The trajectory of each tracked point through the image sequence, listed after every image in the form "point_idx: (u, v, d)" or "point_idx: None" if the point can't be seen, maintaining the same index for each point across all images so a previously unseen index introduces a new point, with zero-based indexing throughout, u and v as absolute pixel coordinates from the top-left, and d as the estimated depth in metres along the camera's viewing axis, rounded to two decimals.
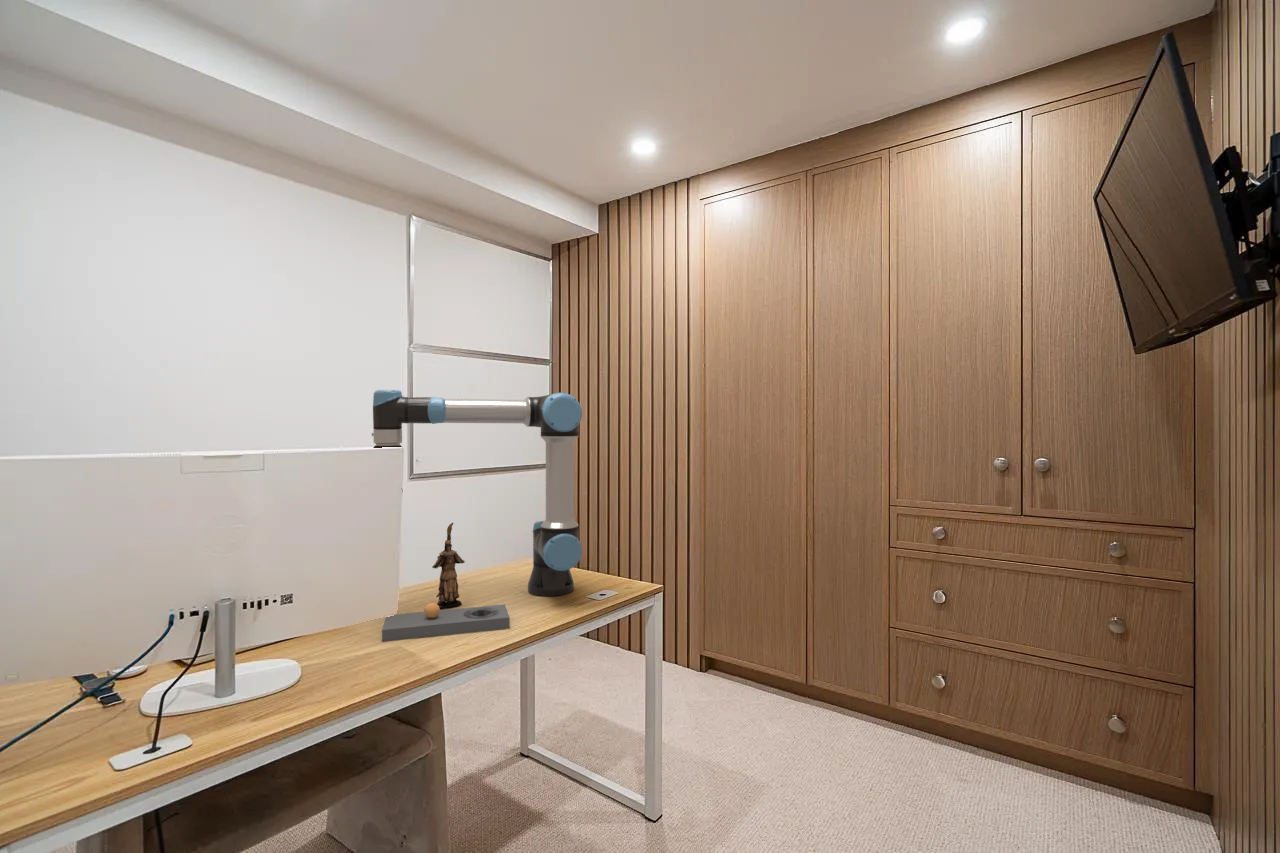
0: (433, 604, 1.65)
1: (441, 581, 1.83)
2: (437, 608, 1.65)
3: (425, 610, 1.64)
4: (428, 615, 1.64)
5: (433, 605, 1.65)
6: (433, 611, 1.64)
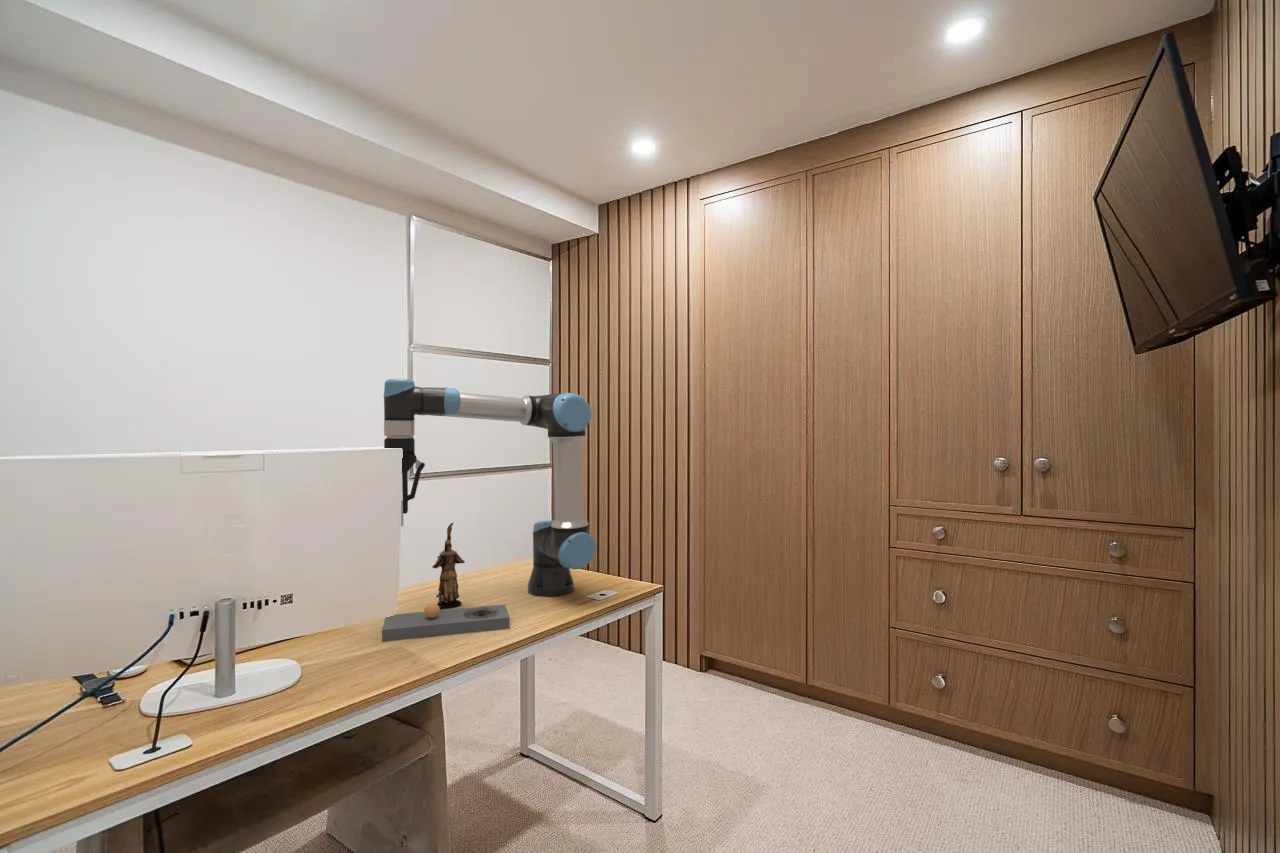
0: (433, 604, 1.65)
1: (441, 581, 1.83)
2: (437, 608, 1.65)
3: (425, 610, 1.64)
4: (428, 615, 1.64)
5: (433, 605, 1.65)
6: (433, 611, 1.64)
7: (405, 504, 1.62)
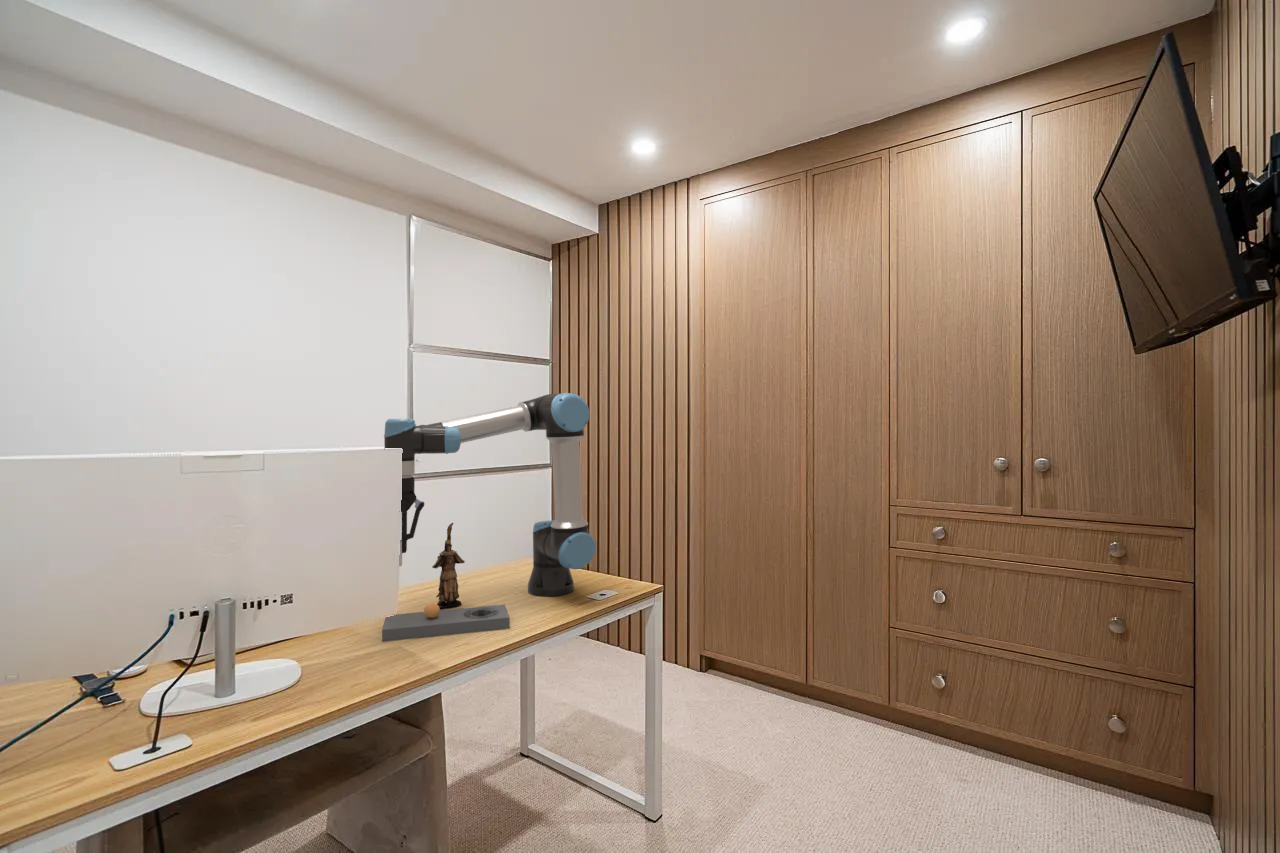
0: (433, 604, 1.65)
1: (441, 581, 1.83)
2: (437, 608, 1.65)
3: (425, 610, 1.64)
4: (428, 615, 1.64)
5: (433, 605, 1.65)
6: (433, 611, 1.64)
7: (404, 543, 1.62)
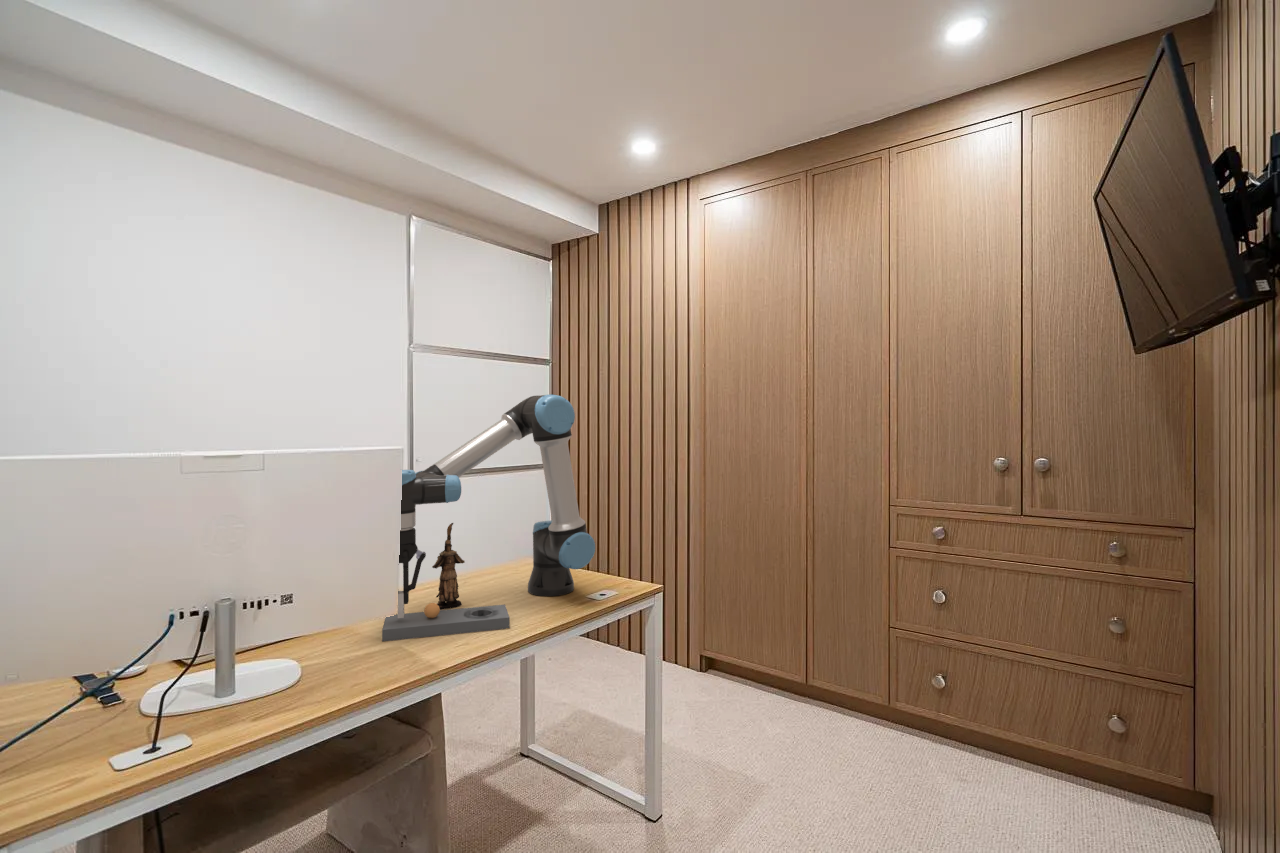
0: (433, 604, 1.65)
1: (441, 581, 1.83)
2: (437, 608, 1.65)
3: (425, 610, 1.64)
4: (428, 615, 1.64)
5: (433, 605, 1.65)
6: (433, 611, 1.64)
7: (406, 595, 1.63)
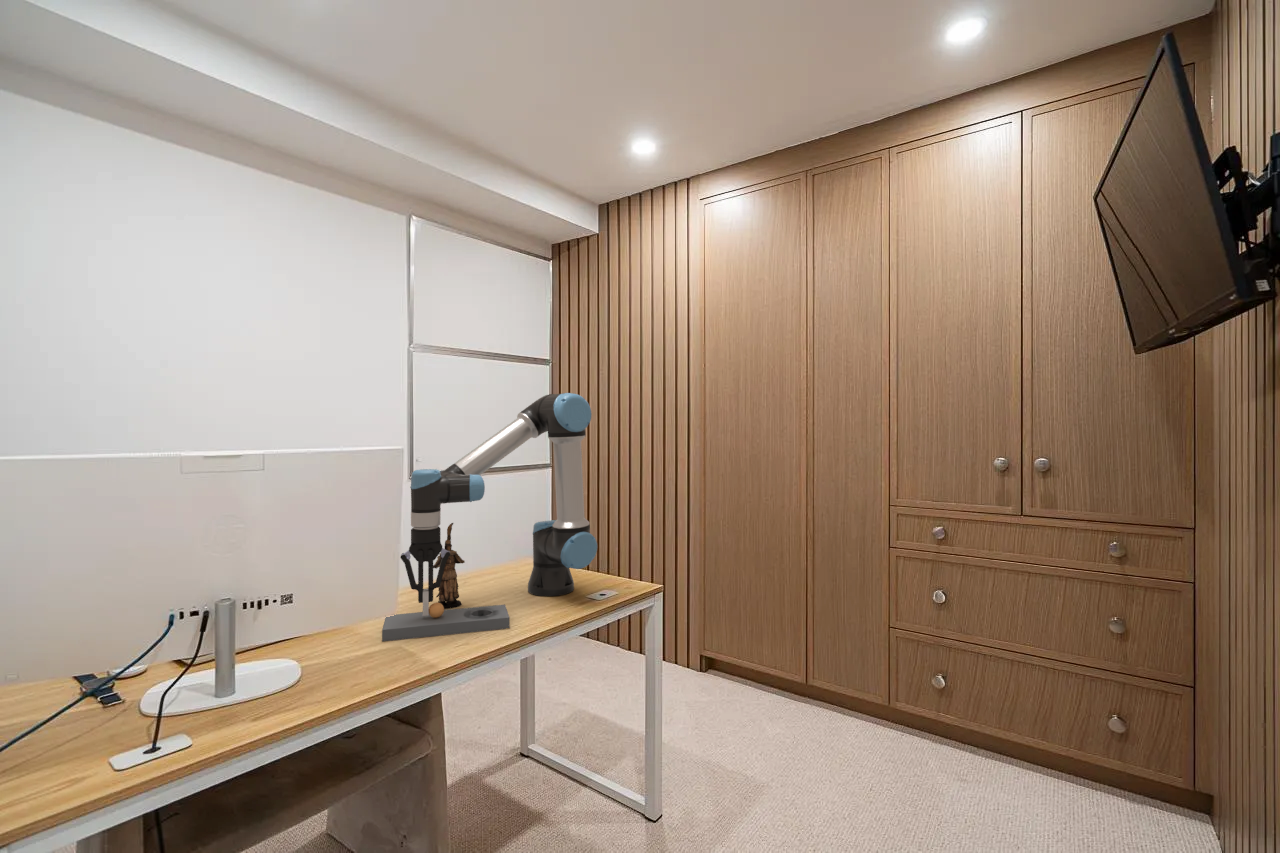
0: (440, 605, 1.66)
1: (441, 581, 1.83)
2: (442, 610, 1.65)
3: (431, 607, 1.65)
4: (431, 613, 1.64)
5: (440, 605, 1.65)
6: (437, 612, 1.64)
7: (431, 593, 1.65)
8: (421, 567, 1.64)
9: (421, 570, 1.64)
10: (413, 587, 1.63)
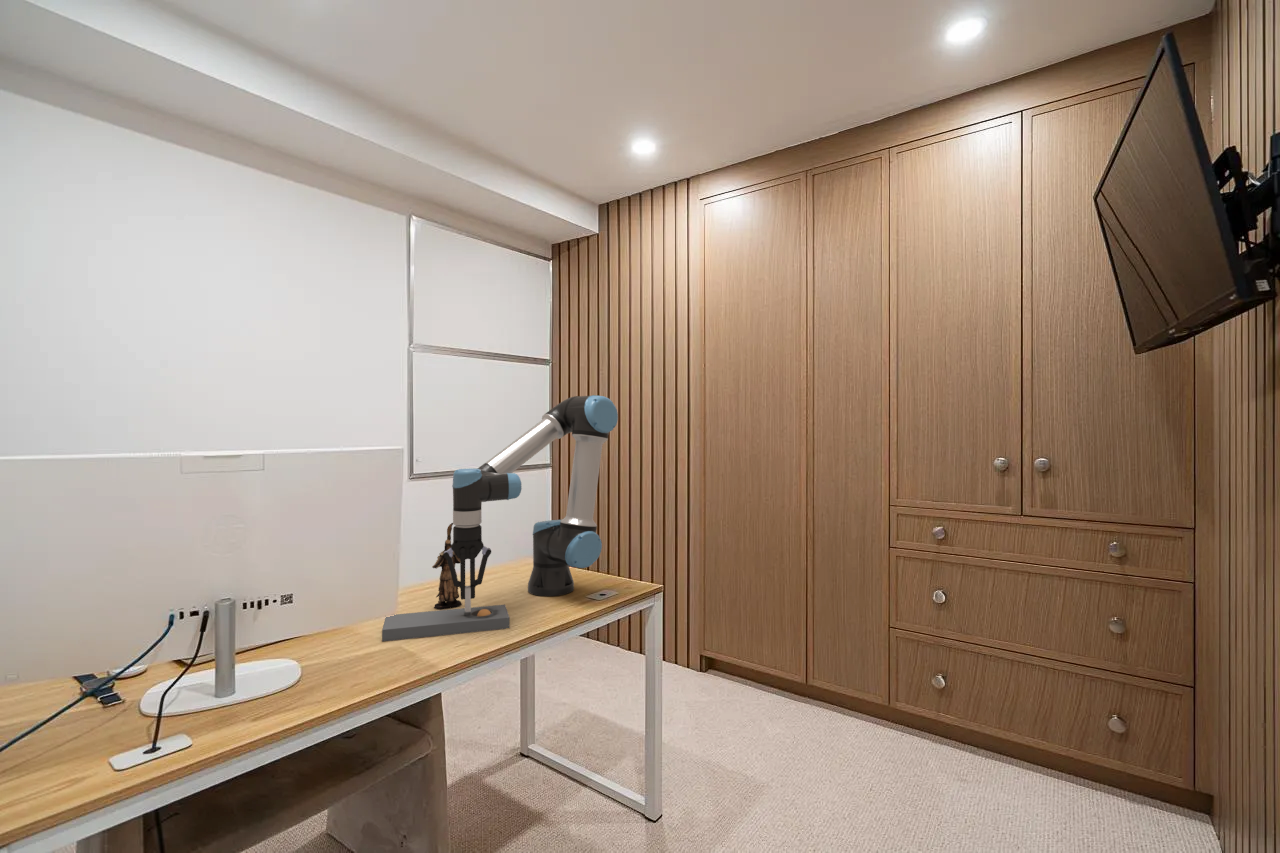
0: (489, 612, 1.70)
1: (441, 581, 1.83)
2: None
3: (480, 613, 1.69)
4: None
5: (489, 612, 1.69)
6: None
7: (473, 589, 1.68)
8: (463, 564, 1.67)
9: (463, 567, 1.67)
10: (456, 584, 1.66)
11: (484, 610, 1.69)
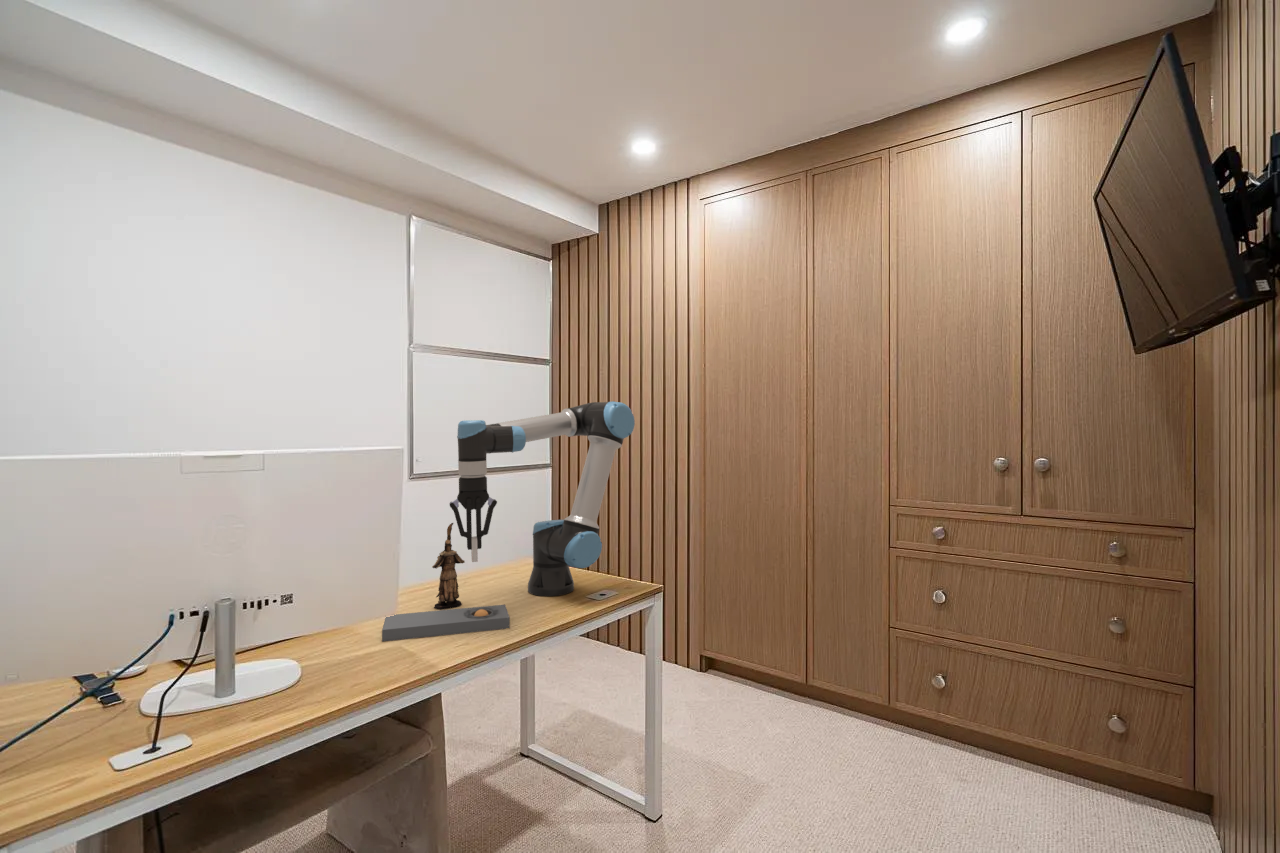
0: (484, 611, 1.69)
1: (441, 581, 1.83)
2: None
3: (475, 615, 1.68)
4: None
5: (484, 611, 1.69)
6: None
7: (479, 540, 1.70)
8: (469, 515, 1.68)
9: (469, 518, 1.68)
10: (462, 534, 1.68)
11: (478, 611, 1.69)
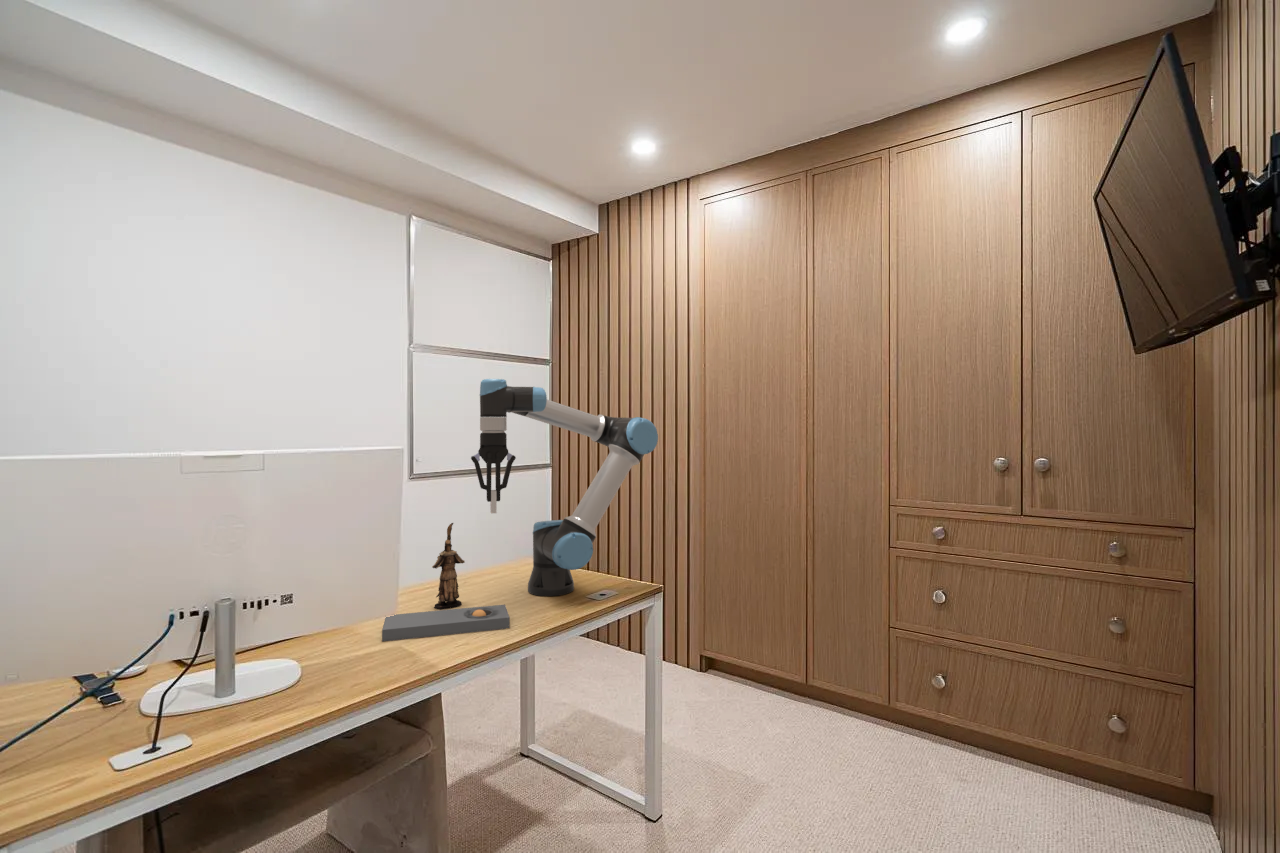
0: (480, 611, 1.69)
1: (441, 581, 1.83)
2: (484, 614, 1.69)
3: None
4: None
5: (480, 611, 1.69)
6: None
7: (498, 493, 1.79)
8: (490, 468, 1.77)
9: (489, 471, 1.77)
10: (482, 486, 1.77)
11: (474, 612, 1.69)
